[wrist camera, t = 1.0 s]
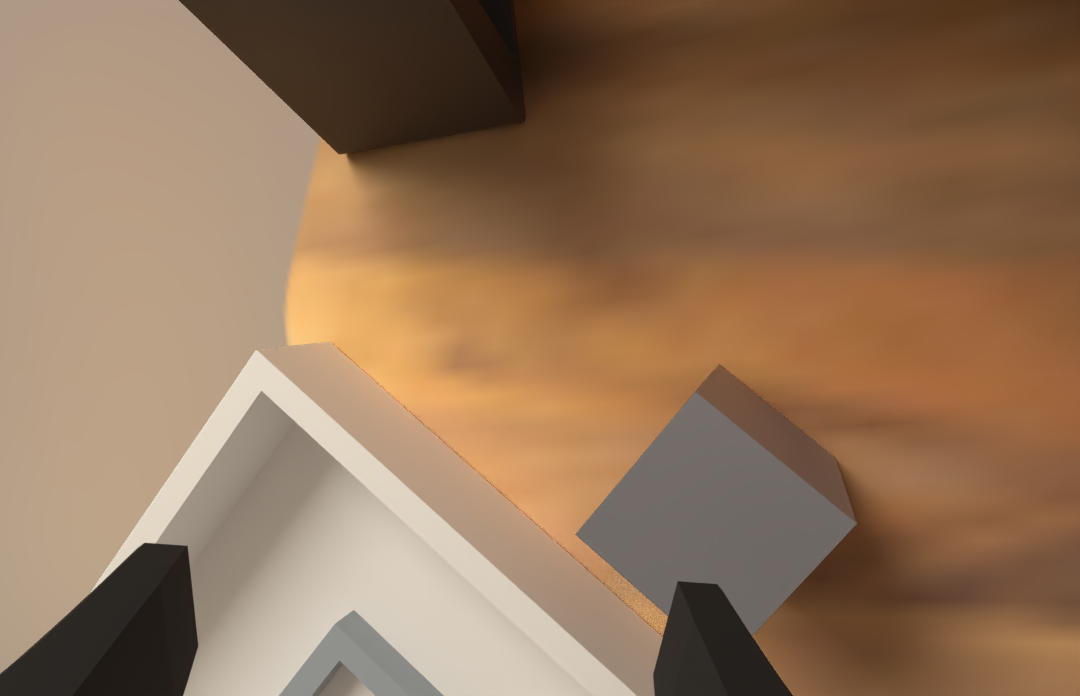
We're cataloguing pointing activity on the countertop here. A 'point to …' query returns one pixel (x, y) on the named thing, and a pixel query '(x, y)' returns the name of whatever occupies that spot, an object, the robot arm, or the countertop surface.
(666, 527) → the grey rectangular block
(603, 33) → the countertop surface
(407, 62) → the phone stand
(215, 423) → the box
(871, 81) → the countertop surface
